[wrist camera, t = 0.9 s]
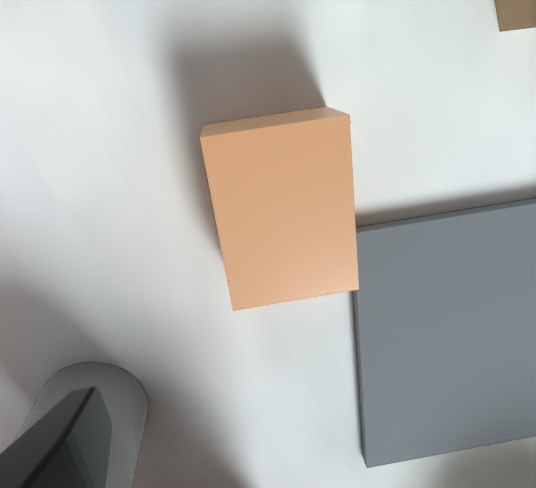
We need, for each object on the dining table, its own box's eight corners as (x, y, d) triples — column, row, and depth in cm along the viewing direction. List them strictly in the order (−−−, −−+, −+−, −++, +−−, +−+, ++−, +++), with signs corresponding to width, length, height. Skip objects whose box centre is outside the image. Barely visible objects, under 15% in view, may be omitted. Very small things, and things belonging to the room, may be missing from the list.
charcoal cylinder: (134, 353, 20) (101, 463, 14) (159, 432, 22) (138, 556, 16) (25, 372, 20) (-51, 491, 14) (60, 450, 22) (5, 582, 16)
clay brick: (324, 105, 17) (349, 114, 14) (336, 253, 19) (358, 289, 16) (203, 124, 16) (199, 137, 13) (230, 270, 19) (233, 310, 16)
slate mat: (654, 178, 19) (667, 181, 19) (600, 414, 25) (609, 422, 24) (349, 228, 18) (353, 233, 18) (363, 458, 24) (367, 468, 23)
